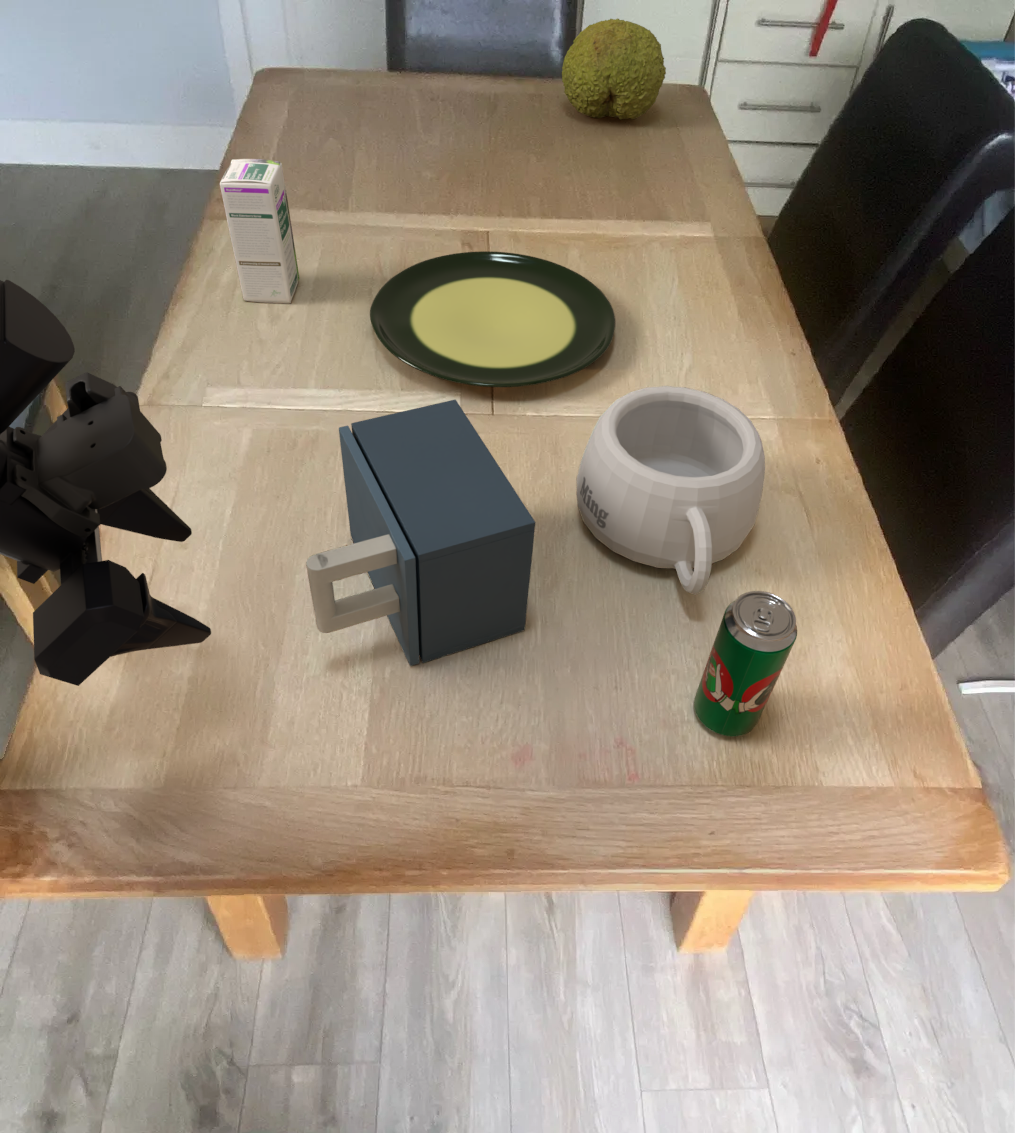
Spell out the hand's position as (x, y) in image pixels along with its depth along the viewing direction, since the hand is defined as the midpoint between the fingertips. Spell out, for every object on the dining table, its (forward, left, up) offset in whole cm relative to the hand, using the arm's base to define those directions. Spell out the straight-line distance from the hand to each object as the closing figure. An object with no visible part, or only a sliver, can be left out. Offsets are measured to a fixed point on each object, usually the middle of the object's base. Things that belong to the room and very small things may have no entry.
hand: (196, 583), depth 59 cm
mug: (+25, +32, -13) cm, 43 cm away
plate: (-3, +55, -13) cm, 57 cm away
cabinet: (+9, +18, -13) cm, 24 cm away
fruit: (-13, +122, -13) cm, 124 cm away
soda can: (+35, +15, -13) cm, 40 cm away
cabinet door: (+3, +12, -13) cm, 18 cm away
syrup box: (-30, +50, -13) cm, 60 cm away
